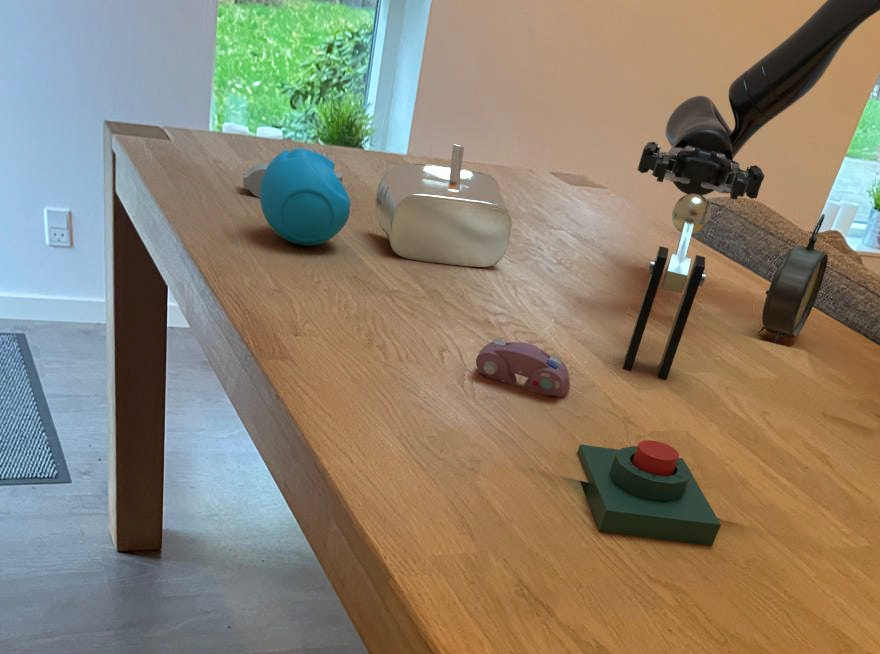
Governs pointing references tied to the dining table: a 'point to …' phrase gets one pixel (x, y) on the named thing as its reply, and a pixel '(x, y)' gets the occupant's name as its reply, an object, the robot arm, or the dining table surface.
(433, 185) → the vr headset
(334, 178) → the teal rounded lump
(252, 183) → the bunny figurine
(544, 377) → the video game controller
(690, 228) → the lever
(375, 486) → the dining table surface
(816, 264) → the alarm clock
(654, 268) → the bracket
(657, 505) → the box
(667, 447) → the button
